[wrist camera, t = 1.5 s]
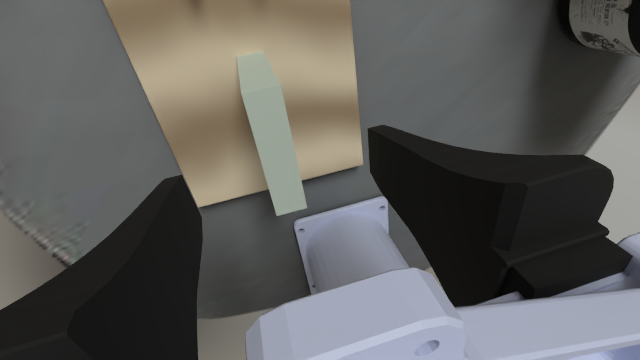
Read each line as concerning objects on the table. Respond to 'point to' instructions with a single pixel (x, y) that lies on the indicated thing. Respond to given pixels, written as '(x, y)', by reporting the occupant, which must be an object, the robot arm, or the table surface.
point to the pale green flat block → (271, 131)
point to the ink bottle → (603, 24)
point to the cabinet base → (224, 86)
